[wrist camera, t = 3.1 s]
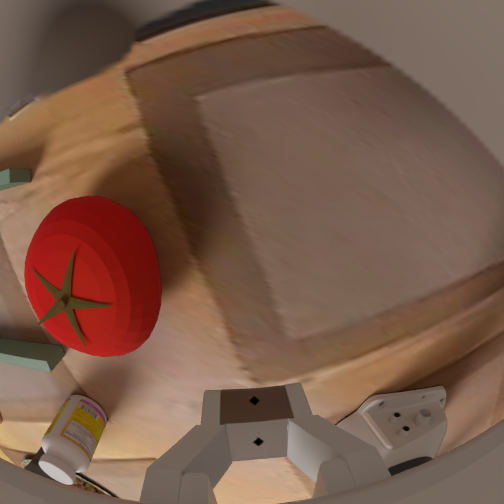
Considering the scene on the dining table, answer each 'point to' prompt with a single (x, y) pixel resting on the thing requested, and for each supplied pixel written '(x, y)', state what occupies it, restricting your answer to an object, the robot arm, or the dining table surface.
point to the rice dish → (78, 482)
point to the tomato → (94, 277)
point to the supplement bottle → (72, 439)
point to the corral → (24, 351)
